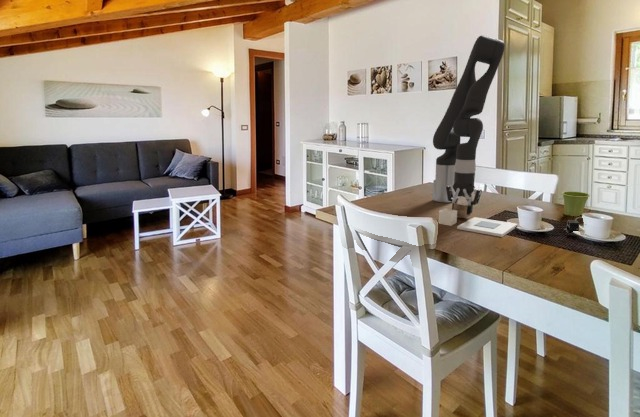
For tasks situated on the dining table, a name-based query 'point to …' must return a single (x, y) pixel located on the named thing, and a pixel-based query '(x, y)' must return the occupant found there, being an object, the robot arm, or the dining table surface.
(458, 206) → the walnut block
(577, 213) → the plant pot
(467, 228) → the board
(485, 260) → the dining table surface
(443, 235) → the dining table surface
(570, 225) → the black irregular block
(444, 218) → the cream block
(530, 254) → the dining table surface
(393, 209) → the dining table surface
